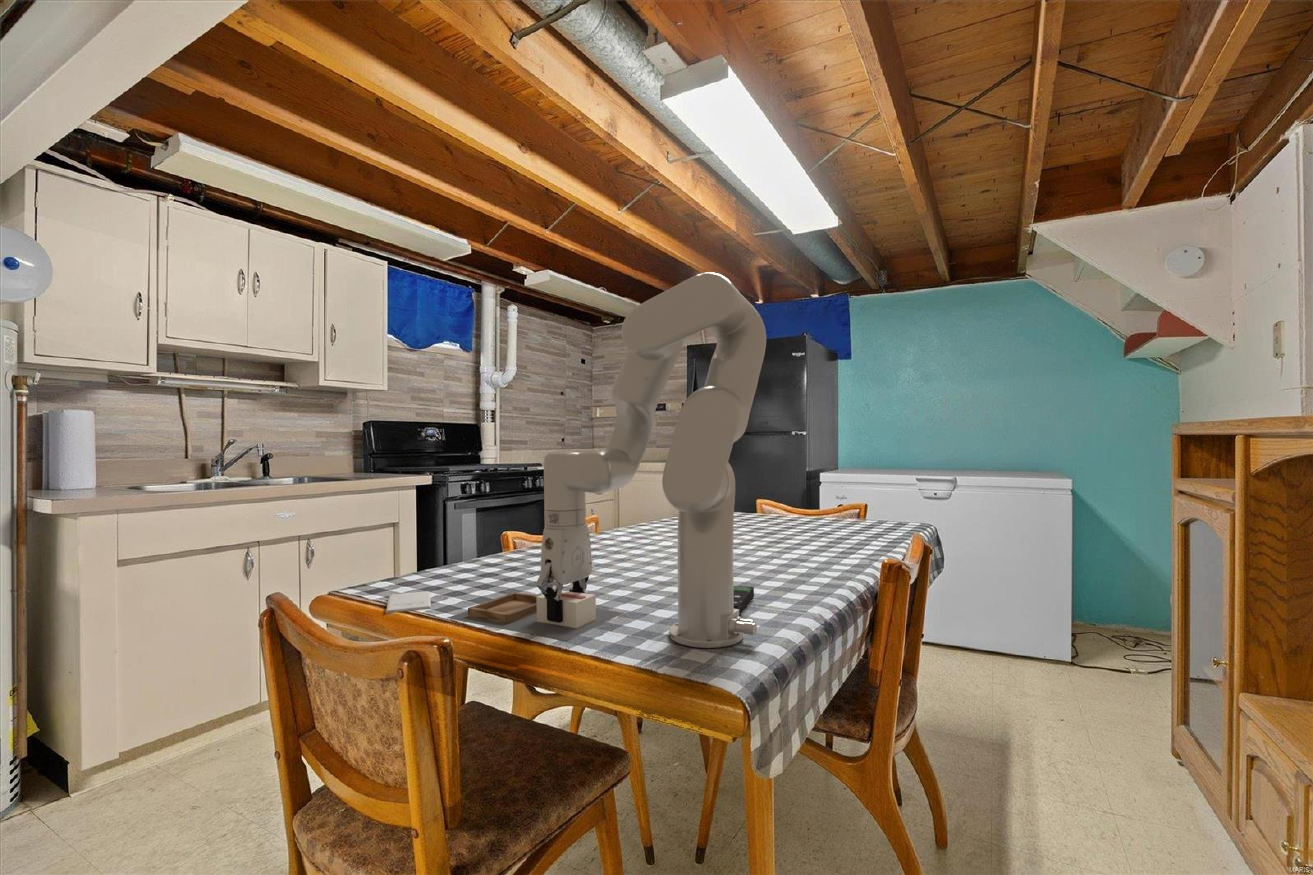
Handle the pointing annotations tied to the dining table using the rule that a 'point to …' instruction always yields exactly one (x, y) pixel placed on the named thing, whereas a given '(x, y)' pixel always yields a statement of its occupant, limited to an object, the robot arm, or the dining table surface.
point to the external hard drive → (408, 602)
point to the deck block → (570, 609)
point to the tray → (505, 608)
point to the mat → (542, 625)
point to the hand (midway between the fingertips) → (566, 615)
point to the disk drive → (742, 597)
